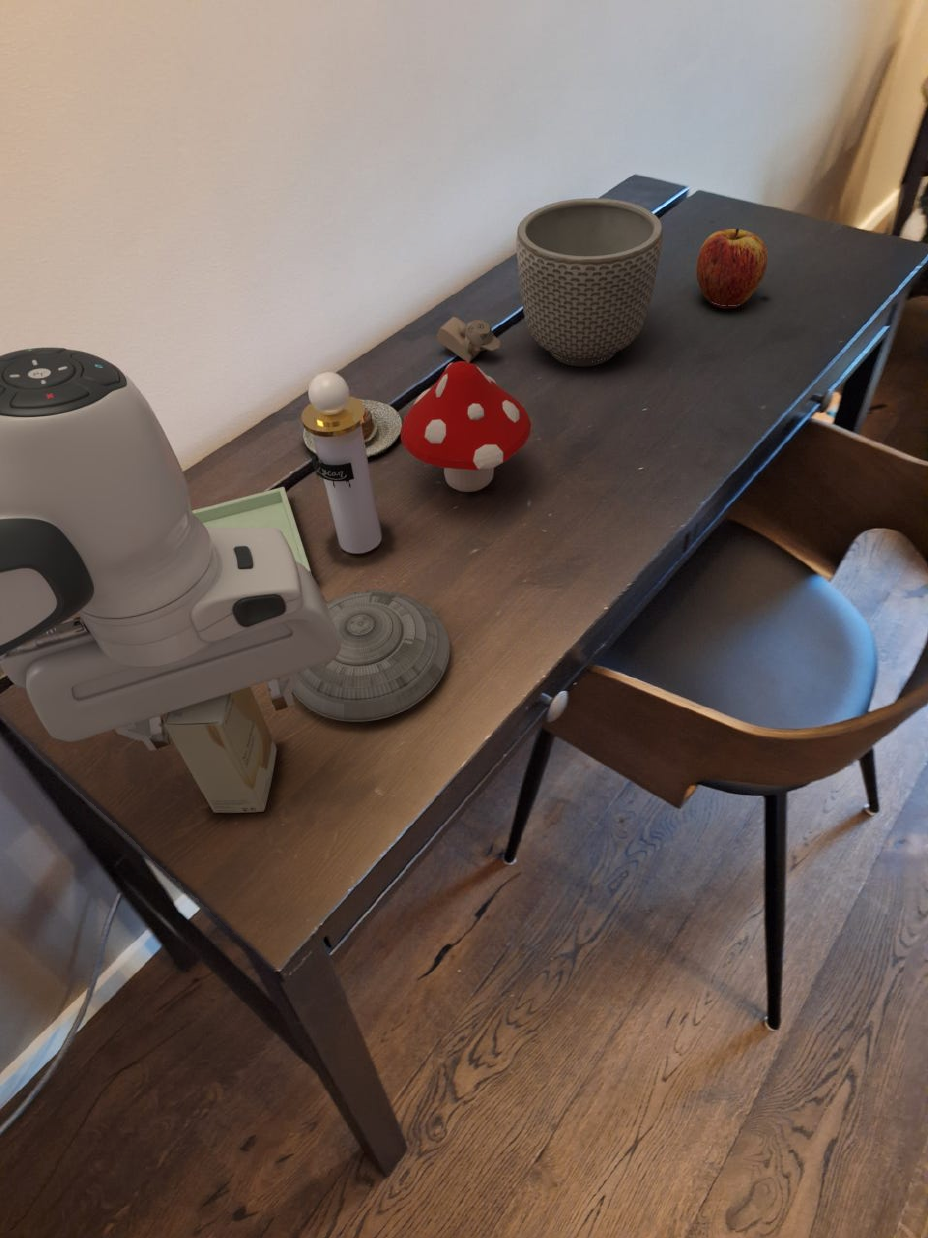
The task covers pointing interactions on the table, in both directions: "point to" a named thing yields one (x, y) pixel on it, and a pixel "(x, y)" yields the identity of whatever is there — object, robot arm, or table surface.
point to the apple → (731, 266)
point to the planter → (587, 276)
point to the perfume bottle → (343, 461)
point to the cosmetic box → (226, 750)
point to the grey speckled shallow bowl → (373, 428)
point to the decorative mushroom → (465, 426)
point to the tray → (257, 517)
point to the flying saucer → (377, 658)
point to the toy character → (467, 338)
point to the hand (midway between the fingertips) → (222, 721)
